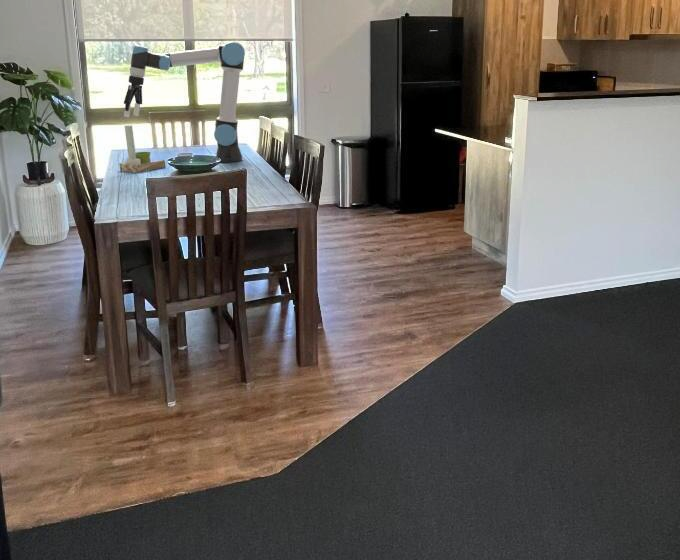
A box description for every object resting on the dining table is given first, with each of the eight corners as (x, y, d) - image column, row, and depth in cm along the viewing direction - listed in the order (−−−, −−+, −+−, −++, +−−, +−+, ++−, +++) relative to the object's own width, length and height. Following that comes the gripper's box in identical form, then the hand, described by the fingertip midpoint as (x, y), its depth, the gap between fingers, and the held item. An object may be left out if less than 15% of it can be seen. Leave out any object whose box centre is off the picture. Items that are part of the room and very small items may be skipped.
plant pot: (148, 170, 398) (146, 154, 395) (131, 170, 399) (129, 154, 397) (155, 167, 406) (153, 151, 404) (139, 167, 408) (137, 151, 405)
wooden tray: (165, 167, 405) (164, 160, 403) (136, 172, 391) (135, 165, 390) (149, 165, 414) (148, 158, 413) (120, 170, 400) (119, 163, 399)
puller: (141, 170, 395) (135, 125, 388) (138, 170, 394) (132, 126, 387) (129, 168, 402) (123, 124, 395) (126, 169, 401) (120, 125, 394)
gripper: (138, 74, 399) (133, 113, 405) (120, 74, 375) (115, 115, 381) (151, 77, 399) (146, 116, 405) (135, 77, 375) (129, 119, 381)
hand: (131, 116), depth 393 cm, fingers open, 13 cm apart
